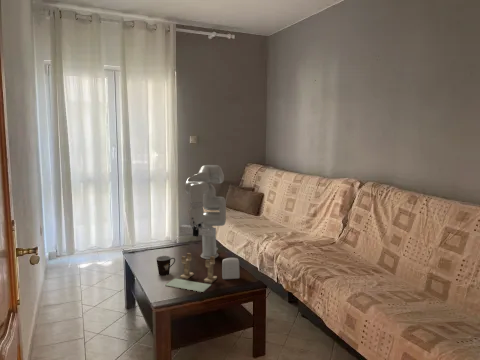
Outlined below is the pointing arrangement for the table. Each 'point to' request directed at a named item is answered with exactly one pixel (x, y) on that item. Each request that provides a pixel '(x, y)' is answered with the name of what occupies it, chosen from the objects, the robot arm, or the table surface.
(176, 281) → the sage mat
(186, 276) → the forked stand
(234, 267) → the photo printer
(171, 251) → the table surface
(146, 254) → the table surface
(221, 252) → the table surface
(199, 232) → the steel bar
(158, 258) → the coffee mug
